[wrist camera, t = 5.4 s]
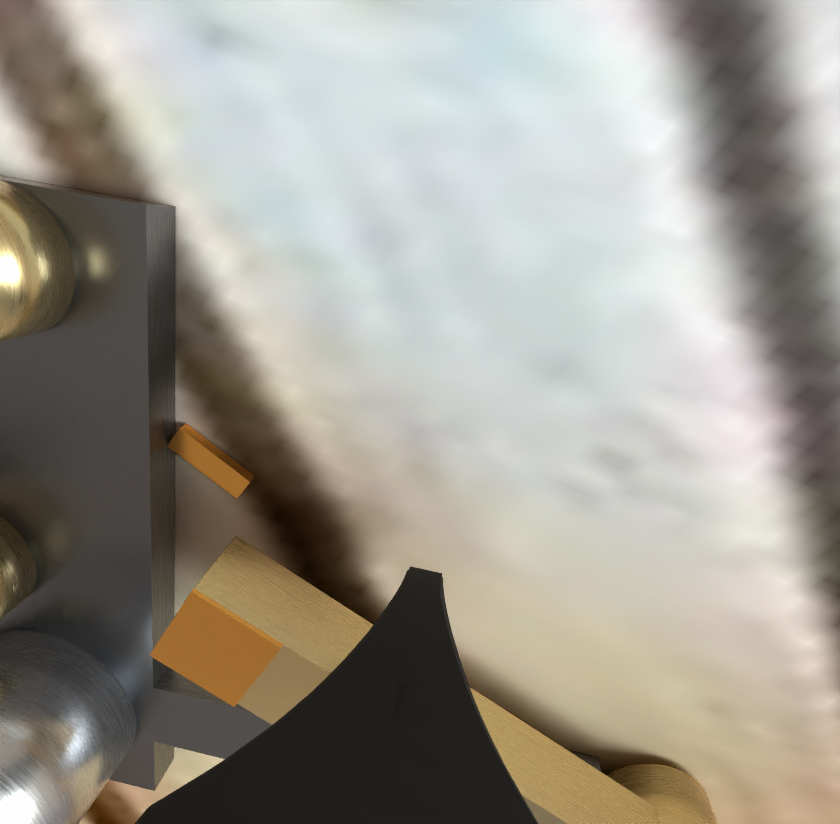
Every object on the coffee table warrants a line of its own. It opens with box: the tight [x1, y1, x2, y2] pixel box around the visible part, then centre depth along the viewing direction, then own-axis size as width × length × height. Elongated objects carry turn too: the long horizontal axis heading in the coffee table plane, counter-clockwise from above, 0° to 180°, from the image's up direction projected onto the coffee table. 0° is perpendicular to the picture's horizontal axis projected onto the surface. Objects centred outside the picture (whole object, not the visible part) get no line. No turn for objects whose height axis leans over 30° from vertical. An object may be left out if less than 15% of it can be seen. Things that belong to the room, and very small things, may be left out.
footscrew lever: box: [150, 536, 718, 824], centre depth 13 cm, size 14×3×3 cm, turn 55°
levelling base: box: [0, 175, 601, 824], centre depth 11 cm, size 16×18×6 cm
